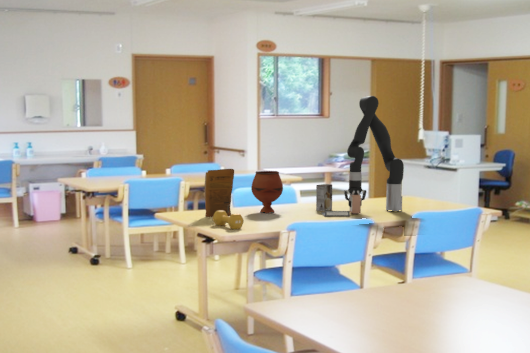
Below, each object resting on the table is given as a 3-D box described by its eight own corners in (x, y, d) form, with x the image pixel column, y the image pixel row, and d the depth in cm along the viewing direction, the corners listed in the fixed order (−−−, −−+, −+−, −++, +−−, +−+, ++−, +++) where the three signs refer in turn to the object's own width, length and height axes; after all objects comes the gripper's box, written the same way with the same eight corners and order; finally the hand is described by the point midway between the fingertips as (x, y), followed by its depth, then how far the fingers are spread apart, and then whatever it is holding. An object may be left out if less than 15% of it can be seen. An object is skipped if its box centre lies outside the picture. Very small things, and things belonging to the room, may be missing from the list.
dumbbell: (211, 225, 402) (211, 210, 401) (225, 224, 408) (225, 209, 407) (231, 230, 387) (231, 215, 386) (245, 228, 393) (245, 213, 392)
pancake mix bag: (236, 216, 436) (236, 168, 433) (205, 218, 428) (205, 169, 425) (231, 214, 442) (232, 168, 439) (201, 216, 434) (201, 168, 431)
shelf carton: (357, 211, 455) (357, 193, 454) (360, 213, 447) (360, 195, 446) (349, 211, 455) (349, 193, 454) (352, 213, 447) (352, 195, 446)
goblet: (245, 212, 451) (245, 171, 448) (263, 209, 466) (264, 169, 463) (270, 215, 439) (270, 173, 437) (288, 211, 455) (289, 171, 452)
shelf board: (345, 213, 451) (345, 208, 451) (349, 216, 439) (349, 211, 439) (321, 213, 450) (321, 208, 449) (324, 216, 437) (324, 211, 437)
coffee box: (323, 208, 470) (324, 183, 468) (332, 209, 466) (332, 184, 465) (315, 210, 463) (316, 184, 461) (324, 211, 459) (324, 185, 457)
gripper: (365, 178, 454) (364, 205, 455) (342, 178, 452) (342, 206, 454) (368, 179, 446) (367, 207, 448) (345, 180, 445) (344, 208, 446)
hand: (354, 206), depth 451 cm, fingers closed on shelf carton, 5 cm apart
